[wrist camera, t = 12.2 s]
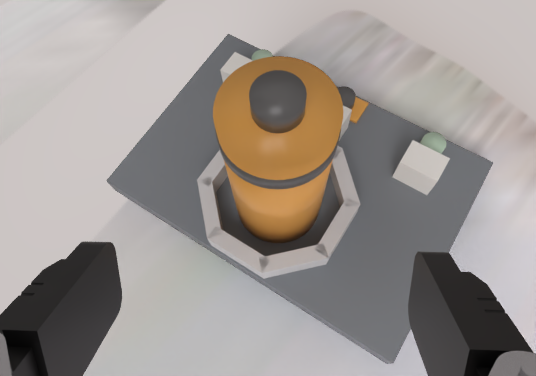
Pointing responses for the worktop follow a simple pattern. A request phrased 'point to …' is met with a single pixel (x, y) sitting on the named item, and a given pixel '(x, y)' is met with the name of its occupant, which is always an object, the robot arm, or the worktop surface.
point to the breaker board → (331, 211)
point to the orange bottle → (278, 143)
